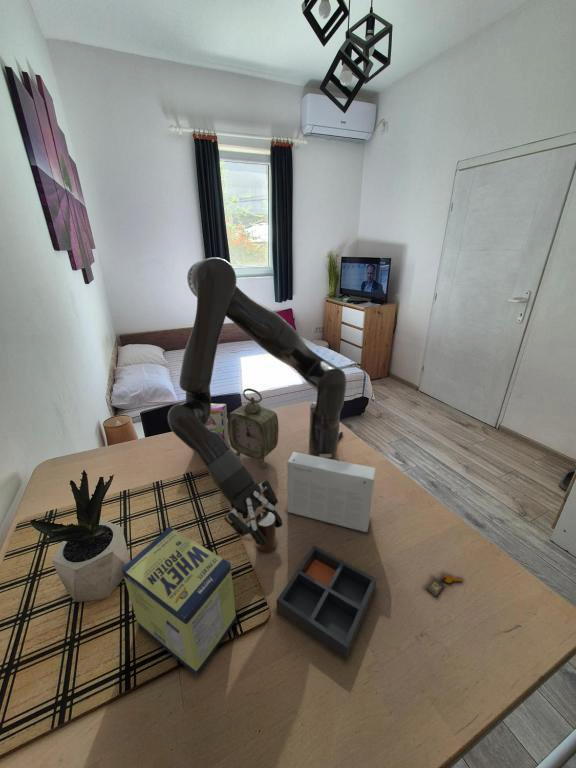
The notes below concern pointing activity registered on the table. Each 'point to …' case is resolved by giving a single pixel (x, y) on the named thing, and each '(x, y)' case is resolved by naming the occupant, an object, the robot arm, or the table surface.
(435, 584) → the key tag
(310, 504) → the skincare box
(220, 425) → the candy bar box
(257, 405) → the tabletop clock
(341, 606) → the grid
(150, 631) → the protein box
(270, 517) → the brown cylinder
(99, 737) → the table surface
